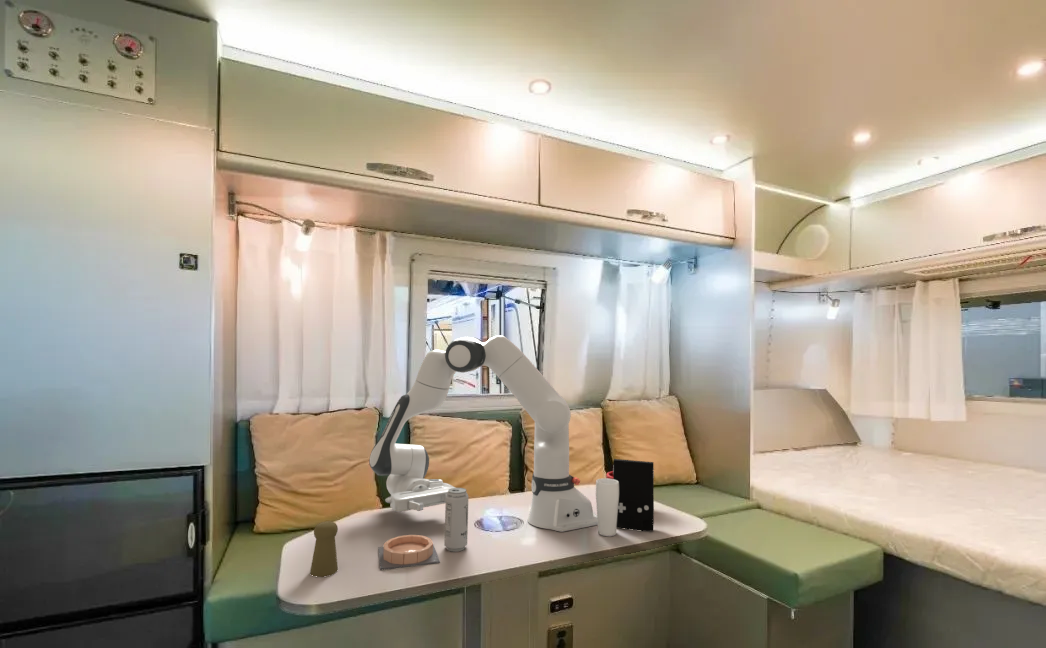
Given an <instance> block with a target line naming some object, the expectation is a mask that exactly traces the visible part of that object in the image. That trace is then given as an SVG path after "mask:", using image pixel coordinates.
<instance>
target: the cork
mask: <svg viewBox="0 0 1046 648" xmlns="http://www.w3.org/2000/svg"><path fill="white" fill-rule="evenodd" d="M338 531H339V528H338V524H337V522H334V521H321V522H320V523H317V524H316V526H315V527H314V530H313V537H314V538H315V543H314V548H313V555H312V560H311V566H310V571H309V574H311V575H313V576H317V577H316V578H325V577H324V576H326V577H329V575H330V576H332V574H333V575H335V574H336V573H337V572H338V571H337V570H339V568H338V557H337V555H338V554H337V546H336V545H337V544H336V536H337V534H338ZM335 572H336V573H335ZM311 575H310V576H311ZM313 576H312V577H313Z"/></svg>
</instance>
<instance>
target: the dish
mask: <svg viewBox="0 0 1046 648" xmlns="http://www.w3.org/2000/svg"><path fill="white" fill-rule="evenodd" d="M377 549H378V558H379V561H378V562H379V569H380V571H382V569H383V570H384V569H385V570H391V569H392V568H393V569H399V567H401V568H407V567H408V566H409V567H415V566H416V565H418V566H425V565H426V566H427V565H434V564H440V561H441V560H440V558H439V556H438V553H437V550H436V548H435V544H434V542H433V540H432V538H430V537H427V536H425V535H419V534H408V535H407V534H405V535H398V536H395V537H392V538H389V539H388V540H387V541H385V542H384V543H383V546H378V548H377ZM393 569H392V570H393Z"/></svg>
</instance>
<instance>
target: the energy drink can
mask: <svg viewBox="0 0 1046 648" xmlns="http://www.w3.org/2000/svg"><path fill="white" fill-rule="evenodd" d="M444 511H445V513H444V547H445V548H446V550H447V551H449V552H461V551H464V550H465V548H466V547H467V546H468V531H469V529H468V528H469V527H468V525H469V494H468V492H467V488H463V487H455V488H451V489H449V490H448V494H447V495H446V503H445V510H444Z"/></svg>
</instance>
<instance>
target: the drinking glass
mask: <svg viewBox="0 0 1046 648" xmlns="http://www.w3.org/2000/svg"><path fill="white" fill-rule="evenodd" d="M595 504H596V515H597V519H598V525H597V533H598V534H599V535H600V536H604V537H614V536H616V534H617V532H618V531H617V528H618V527H617V515H618V504H619V481H617V480H614V479H608V478H606V477H603V478H597V479H596V480H595Z"/></svg>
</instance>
